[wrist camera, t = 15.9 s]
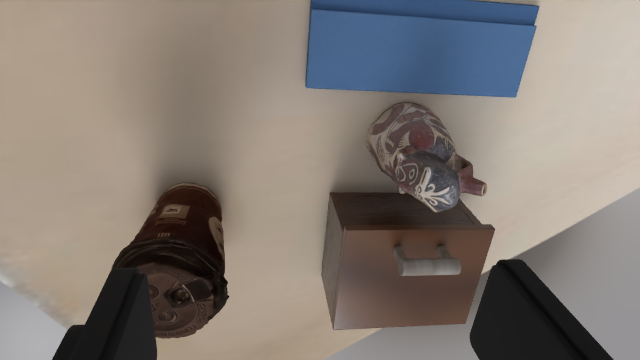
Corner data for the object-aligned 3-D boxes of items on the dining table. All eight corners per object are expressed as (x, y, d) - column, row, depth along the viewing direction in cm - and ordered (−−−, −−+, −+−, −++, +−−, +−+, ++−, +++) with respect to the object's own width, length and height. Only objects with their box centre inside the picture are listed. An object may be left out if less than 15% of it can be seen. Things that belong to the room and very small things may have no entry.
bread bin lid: (344, 225, 36) (353, 253, 32) (491, 224, 38) (515, 250, 34) (331, 323, 41) (338, 357, 37) (462, 318, 43) (480, 349, 39)
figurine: (370, 102, 39) (413, 153, 28) (442, 100, 40) (511, 149, 29) (364, 171, 42) (402, 240, 31) (432, 168, 43) (490, 234, 32)
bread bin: (329, 192, 42) (342, 232, 36) (454, 193, 45) (488, 231, 38) (321, 274, 47) (331, 323, 41) (434, 271, 49) (461, 317, 43)
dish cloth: (311, -14, 34) (313, -13, 33) (536, 5, 37) (542, 6, 36) (305, 85, 37) (306, 88, 36) (510, 95, 40) (515, 97, 39)
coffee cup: (245, 185, 41) (241, 271, 29) (225, 252, 44) (214, 353, 32) (152, 163, 38) (108, 247, 27) (138, 236, 42) (94, 338, 30)
